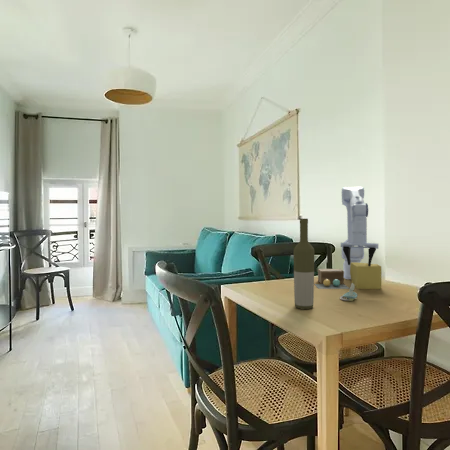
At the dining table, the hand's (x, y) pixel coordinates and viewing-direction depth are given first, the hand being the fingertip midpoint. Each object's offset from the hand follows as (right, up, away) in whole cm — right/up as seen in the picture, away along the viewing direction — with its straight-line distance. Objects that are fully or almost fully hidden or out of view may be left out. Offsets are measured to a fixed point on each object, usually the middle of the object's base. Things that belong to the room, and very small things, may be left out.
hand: (359, 265), depth 145 cm
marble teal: (-8, -9, +4) cm, 13 cm away
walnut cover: (-8, -10, +12) cm, 17 cm away
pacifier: (-11, -11, -17) cm, 23 cm away
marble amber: (-12, -9, +4) cm, 16 cm away
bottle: (-29, -11, -27) cm, 42 cm away
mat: (-10, -10, +4) cm, 15 cm away
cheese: (+4, -10, +3) cm, 11 cm away
